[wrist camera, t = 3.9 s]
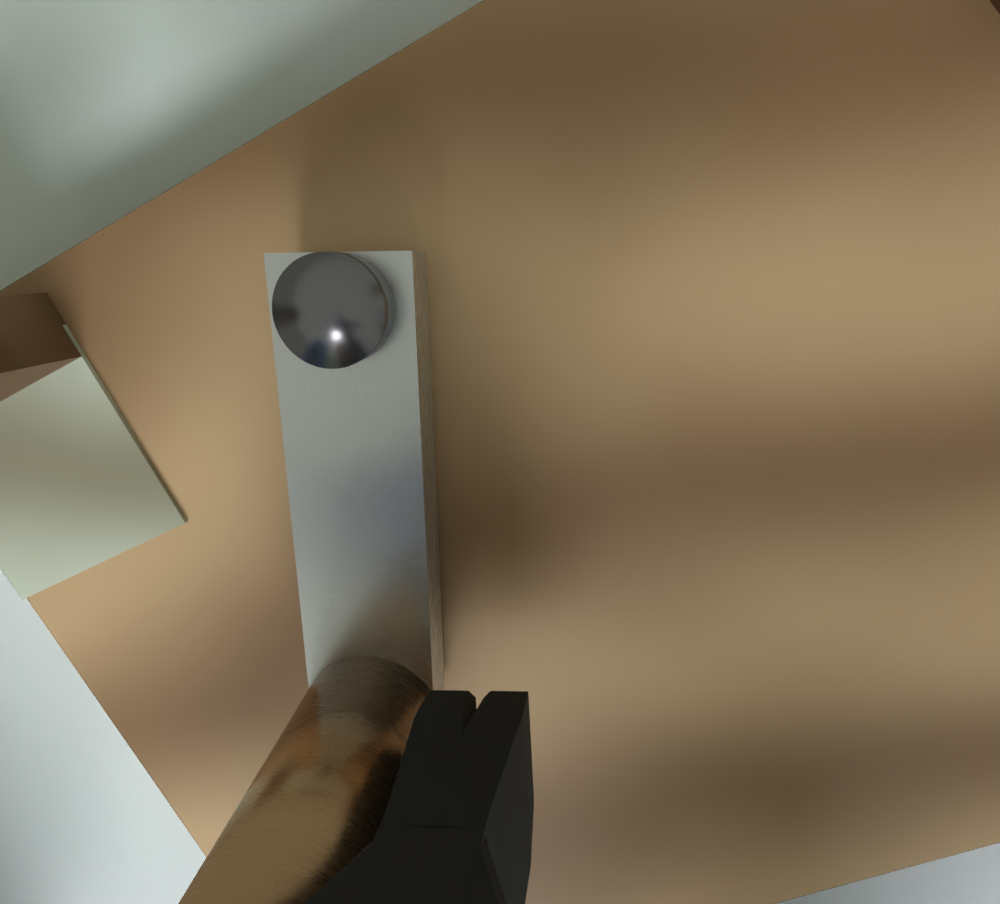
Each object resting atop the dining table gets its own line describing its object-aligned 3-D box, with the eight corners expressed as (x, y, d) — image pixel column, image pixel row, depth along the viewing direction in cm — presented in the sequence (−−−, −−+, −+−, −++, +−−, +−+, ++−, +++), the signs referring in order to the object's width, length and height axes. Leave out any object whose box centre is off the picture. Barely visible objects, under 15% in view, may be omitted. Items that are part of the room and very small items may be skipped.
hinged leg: (284, 253, 11) (21, 251, 6) (432, 250, 11) (299, 246, 6) (330, 733, 14) (176, 1039, 8) (451, 740, 13) (373, 1060, 8)
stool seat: (1350, 683, 13) (2213, 1159, 6) (340, 974, 17) (193, 1430, 11) (1111, -339, 9) (2518, -1881, 3) (-74, 360, 14) (-679, 459, 7)
